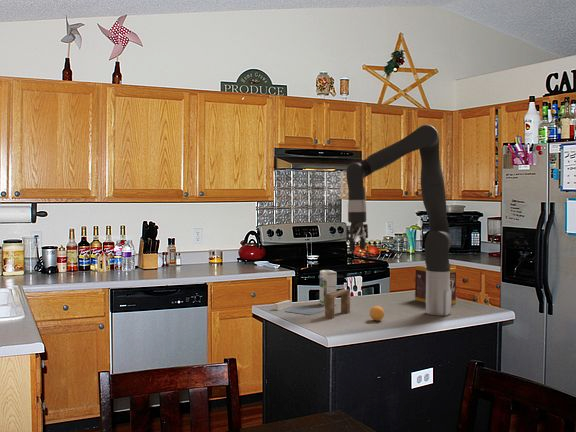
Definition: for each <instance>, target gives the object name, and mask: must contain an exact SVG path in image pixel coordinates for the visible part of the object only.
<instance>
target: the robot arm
mask: <svg viewBox="0 0 576 432" xmlns="http://www.w3.org/2000/svg"><path fill="white" fill-rule="evenodd" d="M415 151H419V154H420V161H421V166H420V168H421V169H420V191H421V199H422V201H423V206H424V209H425V211H426V214H427V217H428V225H429V233H428V234H427V235H426V237H425V242H424V261H425V262H424V263H425V265H426V303H425V314H428V315H433V316H444V317H445V316H448V315H450V314H452V304H451V289H450V268H451V263H450V259H449V256H450V254H449V252H450V248H451V246H452V240H453V239H452V235H451V231H450V227H449V222H448V216H447V214H448V213H447V198H446V187H445V186H446V185H445V180H444V174H443V169H442V164H441V159H440V134H439V131H438V130H437V129H436V128H435V127H434V126H433V125H431V124H423V125H420V126H419V127H417V128H416V129H415V130H413V131H412V132H411V133H409V134H408V135H406V136H405V137H404V138H402V139H400V140H398V141H395V142H394V143H392V144H390V145H389V146H388V145H387V146H386V147H384V148H382V149H379V150H378V151H376V152H374V153H373V152H372V154H370V155H369V156H367V157H366V158H365V159H363V160H361V161H359V162H351V163H349V165H348V166H347V168H346V176H345V177H346V183H347V187H348V189H347V190H348V197H347V198H348V202H347V222H348V223H350V225H346V231H345V232H346V233H345V234H346V241H348V242H349V251H352V252H353V251H354V252H355V251H356V240H357V238H358V239H359V249H360V250H365V249H366V240H367V239H368V238H369V230H368V229H369V228H368V225H369V224H367V223H366V222H367V202H366V189H365V186H364V178H365V179H366V178H367V177H368V176H370V175H371V174H374V173H375V172H376V171H379V170H381V169H384V168H386V167H388V166H389V165H391V164H393V163H395V162H396V161H398V160H400V159H401V158H403V157H404V156H405V155H408V154H410V153H412V152H415ZM365 223H366V224H365Z"/></svg>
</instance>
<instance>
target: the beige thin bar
mask: <svg viewBox="0 0 576 432" xmlns="http://www.w3.org/2000/svg"><path fill="white" fill-rule="evenodd" d="M273 305H274V306H273V309H274V311H275V310H276V311H280V310H284V309H288V308H291V307H293V300H289V299H288V300H287V299H286V300H284V301H283V300H282V301H280V302H276V303H273Z"/></svg>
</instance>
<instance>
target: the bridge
mask: <svg viewBox="0 0 576 432" xmlns="http://www.w3.org/2000/svg"><path fill="white" fill-rule="evenodd" d="M334 297H336V298H337V297H340V314H350V313H351V289H345V288H342V289H340V290H339V289H338V290H336V291H335V292H331V293H328V294H325V306H324V310H325V311H324V318H325V319H329V320H332V319H335V305H334Z"/></svg>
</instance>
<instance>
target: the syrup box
mask: <svg viewBox="0 0 576 432" xmlns="http://www.w3.org/2000/svg"><path fill="white" fill-rule="evenodd" d="M337 275H338V274H337V271H334V270H330V269H322V270H319V302H318V303H319V304H320V305H322V306H324V307H325V294H328V293H331V292H335V291H337V283H338V282H337ZM336 305H337V297H334V306H336Z"/></svg>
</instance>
